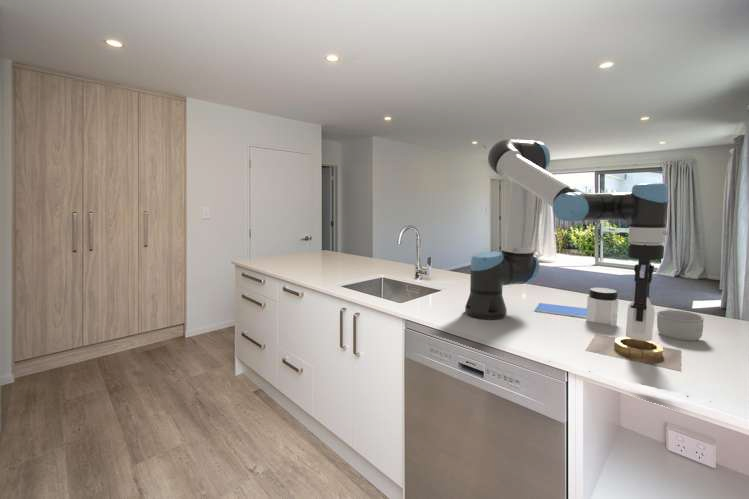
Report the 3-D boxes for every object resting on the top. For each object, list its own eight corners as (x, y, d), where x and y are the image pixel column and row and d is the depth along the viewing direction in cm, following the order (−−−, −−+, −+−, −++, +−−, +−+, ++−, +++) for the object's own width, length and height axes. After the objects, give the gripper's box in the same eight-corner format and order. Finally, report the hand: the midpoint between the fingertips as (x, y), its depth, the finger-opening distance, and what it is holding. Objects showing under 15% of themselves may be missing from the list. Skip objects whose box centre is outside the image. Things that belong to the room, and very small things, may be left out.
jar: (607, 330, 118) (610, 294, 117) (582, 323, 125) (584, 289, 123) (620, 324, 123) (622, 290, 121) (595, 318, 130) (597, 286, 128)
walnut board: (585, 355, 98) (585, 350, 98) (595, 338, 110) (595, 334, 110) (680, 377, 85) (681, 371, 85) (680, 355, 97) (681, 350, 97)
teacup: (705, 349, 101) (708, 322, 100) (657, 342, 107) (659, 316, 106) (694, 334, 113) (697, 309, 112) (651, 328, 119) (653, 305, 118)
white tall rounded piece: (647, 291, 98) (661, 296, 92) (644, 334, 99) (657, 341, 93) (624, 291, 98) (636, 296, 93) (621, 333, 100) (633, 341, 94)
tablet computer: (533, 312, 140) (533, 309, 139) (538, 305, 150) (538, 302, 150) (591, 320, 129) (591, 317, 129) (592, 311, 140) (592, 308, 140)
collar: (611, 352, 96) (612, 345, 96) (617, 341, 104) (617, 334, 104) (661, 363, 90) (661, 355, 89) (662, 350, 98) (663, 343, 97)
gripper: (663, 247, 84) (655, 342, 87) (665, 241, 98) (659, 323, 101) (624, 245, 89) (618, 335, 92) (632, 240, 103) (626, 318, 106)
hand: (639, 329), depth 96 cm, fingers closed on white tall rounded piece, 6 cm apart
